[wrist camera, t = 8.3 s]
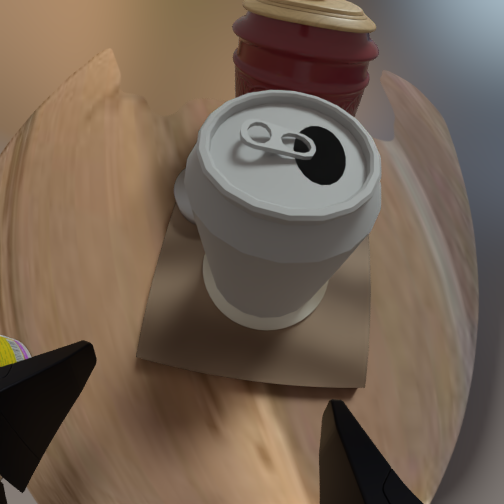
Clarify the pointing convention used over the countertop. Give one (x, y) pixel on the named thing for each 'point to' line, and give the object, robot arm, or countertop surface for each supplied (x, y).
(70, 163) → the countertop surface
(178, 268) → the board
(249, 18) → the canister
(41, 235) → the countertop surface
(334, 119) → the can
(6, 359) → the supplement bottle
